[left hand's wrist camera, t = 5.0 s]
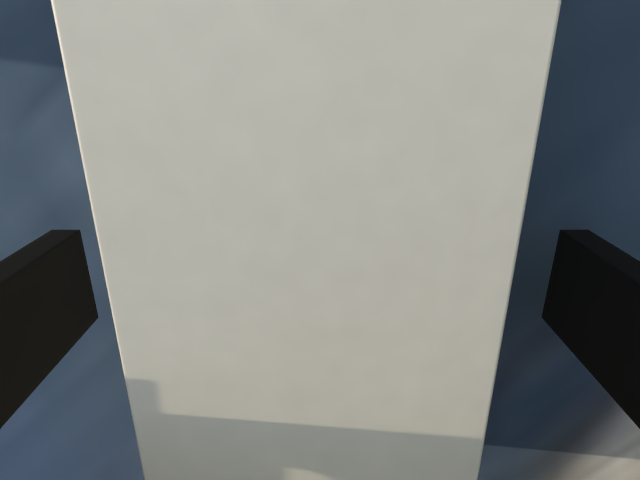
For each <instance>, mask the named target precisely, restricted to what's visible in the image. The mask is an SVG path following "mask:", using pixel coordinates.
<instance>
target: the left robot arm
mask: <svg viewBox="0 0 640 480" xmlns="http://www.w3.org/2000/svg"><path fill="white" fill-rule="evenodd" d="M97 318H98V313H97V309H96V304H95V299H94V294H93V290H92V285H91V280H90V275H89V271H88V266H87V261H86V257H85V252H84V247H83V242H82V238H81V233H80V230H51V231H49V232H48V233H46V234H44V235H43V236H41V237H39V238H38V239H36V240H34V241H33V242H31V243H30V244H28V245H26V246H25V247H23V248H21V249H20V250H18V251H17V252H15V253H13V254H12V255H10V256H8V257H7V258H5V259H3V260H2V261H0V428H1V427H2V426H3V425H4V424H5V423H6V422H7V420H8V419H9V418H10V417H11V416H12V415H13V414H14V412H15V411H16V410H17V409H18V408H19V407H20V406H21V405H22V403H23V402H24V401H25V400H26V399H27V398H28V397H29V395H30V394H31V393H32V392H33V391H34V390H35V389H36V388H37V386H38V385H39V384H40V383H41V382H42V381H43V380H44V378H45V377H46V376H47V375H48V374H49V373H50V372H51V370H52V369H53V368H54V367H55V366H56V365H57V364H58V363H59V361H60V360H61V359H62V358H63V357H64V356H65V355H66V353H67V352H68V351H69V350H70V349H71V348H72V347H73V346H74V344H75V343H76V342H77V341H78V340H79V339H80V338H81V336H82V335H83V334H84V333H85V332H86V331H87V330H88V328H89V327H90V326H91V325H92V324H93V323H94V322H95V321H96V319H97ZM542 318H543V319H544V321H545V322H546V323H547V324H548V325H549V326H550V327H551V328H552V330H553V331H554V332H555V333H556V334H557V335H558V336H559V338H560V339H561V340H562V341H563V342H564V343H565V344H566V346H567V347H568V348H569V349H570V350H571V351H572V352H573V353H574V355H575V356H576V357H577V358H578V359H579V360H580V361H581V363H582V364H583V365H584V366H585V367H586V368H587V369H588V370H589V372H590V373H591V374H592V375H593V376H594V377H595V378H596V380H597V381H598V382H599V383H600V384H601V385H602V386H603V388H604V389H605V390H606V391H607V392H608V393H609V394H610V395H611V397H612V398H613V399H614V400H615V401H616V402H617V403H618V405H619V406H620V407H621V408H622V409H623V410H624V411H625V412H626V414H627V415H628V416H629V417H630V418H631V419H632V420H633V422H634V423H635V424H636V425H637V426H638V427H639V428H640V261H638V260H637V259H635V258H633V257H632V256H630V255H628V254H627V253H625V252H623V251H622V250H620V249H619V248H617V247H615V246H614V245H612V244H610V243H609V242H607V241H606V240H604V239H602V238H601V237H599V236H597V235H596V234H594V233H592V232H591V231H589V230H560V233H559V238H558V242H557V247H556V252H555V257H554V261H553V266H552V271H551V275H550V280H549V285H548V290H547V294H546V299H545V304H544V309H543V313H542Z"/></svg>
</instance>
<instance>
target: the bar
mask: <svg viewBox="0 0 640 480" xmlns="http://www.w3.org/2000/svg"><path fill="white" fill-rule="evenodd" d="M51 3H52V8H53V13H54V18H55V23H56V28H57V34H58V39H59V44H60V49H61V54H62V59H63V64H64V69H65V74H66V80H67V85H68V90H69V95H70V100H71V105H72V110H73V115H74V121H75V126H76V131H77V136H78V141H79V146H80V151H81V156H82V161H83V167H84V172H85V177H86V182H87V187H88V192H89V197H90V202H91V207H92V213H93V218H94V223H95V228H96V233H97V238H98V243H99V248H100V253H101V259H102V264H103V269H104V274H105V279H106V284H107V289H108V294H109V300H110V305H111V310H112V315H113V320H114V325H115V330H116V335H117V340H118V346H119V351H120V356H121V361H122V366H123V371H124V376H125V381H126V386H127V392H128V397H129V402H130V407H131V412H132V417H133V422H134V427H135V433H136V438H137V443H138V448H139V453H140V458H141V463H142V468H143V473H144V479H145V480H477V479H478V473H479V467H480V462H481V456H482V450H483V445H484V439H485V433H486V428H487V422H488V416H489V410H490V405H491V399H492V393H493V388H494V382H495V376H496V370H497V365H498V359H499V353H500V348H501V342H502V336H503V331H504V325H505V319H506V313H507V308H508V302H509V296H510V291H511V285H512V279H513V274H514V268H515V262H516V256H517V251H518V245H519V239H520V234H521V228H522V222H523V217H524V211H525V205H526V199H527V194H528V188H529V182H530V177H531V171H532V165H533V159H534V154H535V148H536V142H537V137H538V131H539V125H540V120H541V114H542V108H543V102H544V97H545V91H546V85H547V80H548V74H549V68H550V63H551V57H552V51H553V45H554V40H555V34H556V28H557V23H558V17H559V11H560V6H561V0H51Z"/></svg>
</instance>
